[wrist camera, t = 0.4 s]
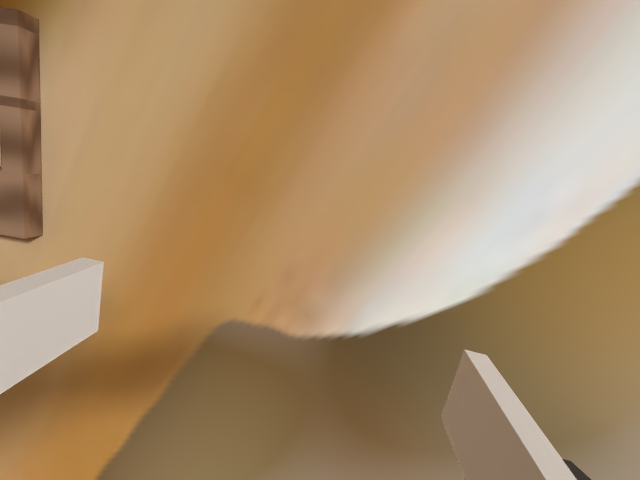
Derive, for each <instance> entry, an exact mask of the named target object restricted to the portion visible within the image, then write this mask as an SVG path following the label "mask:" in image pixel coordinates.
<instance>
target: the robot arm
mask: <svg viewBox="0 0 640 480" xmlns="http://www.w3.org/2000/svg"><path fill="white" fill-rule="evenodd" d="M102 274H103V262H101V261H97V260H92V259H88V258H84V257H83V258H80V259H77V260H74V261H71V262H68V263H65V264H62V265H59V266H56V267H53V268H50V269H47V270H44V271H41V272H38V273H35V274H32V275H29V276H27V277H24V278H21V279H18V280H15V281H12V282H9V283H6V284H3V285H0V394H1V393H3V392H4V391H6V390H8V389H9V388H11V387H12V386H14V385H15V384H17V383H18V382H20V381H21V380H23V379H24V378H26V377H28V376H29V375H31V374H32V373H34V372H35V371H37V370H38V369H40V368H41V367H43V366H44V365H46V364H48V363H49V362H51V361H52V360H54V359H55V358H57V357H58V356H60V355H61V354H63V353H64V352H66V351H68V350H69V349H71V348H72V347H74V346H75V345H77V344H78V343H80V342H81V341H83V340H84V339H86V338H88V337H89V336H91V335H92V334H94V333H95V332H97V331H98V325H99V312H100V300H101V287H102ZM441 418H442V420H443V423H444V426H445V428H446V431H447V434H448V437H449V439H450V442H451V445H452V448H453V450H454V453H455V456H456V459H457V461H458V464H459V467H460V469H461V472H462V475H463V478H464V480H591V479H590V478H589V477H587V475H585V474H584V473H583V472H582V471H581V470H580V469H579V468H578V467H576V466H575V465H574V464H573V463H572V462H571V461H568V460H565V459H562V458H561V457H560V456H559V454H558V453H557V451H556V450H555V449H554V447H553V446H552V445H551V443H550V442H549V440H548V439H547V438H546V436H545V435H544V434H543V432H542V431H541V429H540V428H539V427H538V425H537V424H536V423H535V421H534V420H533V419H532V417H531V416H530V414H529V413H528V412H527V410H526V409H525V407H524V406H523V405H522V403H521V402H520V401H519V399H518V398H517V396H516V395H515V394H514V392H513V391H512V390H511V389H510V387H509V385H508V384H507V383H506V381H505V380H504V379H503V377H502V376H501V374H500V373H499V372H498V371H497V369H496V367H495V366H494V365H493V363H492V362H491V361H490V359H489V358H488V356H487V355H484V354H480V353H475V352H471V351H468V350H464V353H463V356H462V359H461V361H460V364H459V367H458V370H457V373H456V376H455V379H454V381H453V384H452V387H451V390H450V393H449V396H448V398H447V402H446V404H445V407H444V410H443V413H442V416H441Z"/></svg>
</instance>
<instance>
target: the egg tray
mask: <svg viewBox="0 0 640 480" xmlns="http://www.w3.org/2000/svg"><path fill="white" fill-rule="evenodd" d="M0 145H1V167H0V235H6V236H11V237H17V238H22V239H27V238H31V237H36V236H40V235H43V224H42V171H41V118H40V65H39V20H38V19H36V18H34V17H32V16H30V15H27V14H25V13H23V12H21V11H19V10H15V9H9V8H2V7H0Z"/></svg>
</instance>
